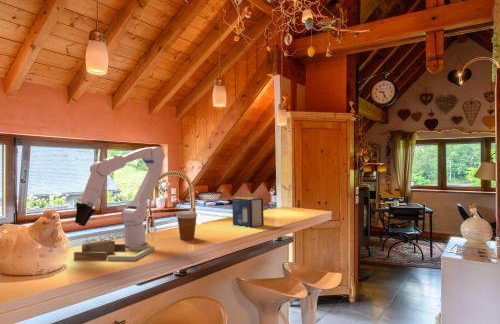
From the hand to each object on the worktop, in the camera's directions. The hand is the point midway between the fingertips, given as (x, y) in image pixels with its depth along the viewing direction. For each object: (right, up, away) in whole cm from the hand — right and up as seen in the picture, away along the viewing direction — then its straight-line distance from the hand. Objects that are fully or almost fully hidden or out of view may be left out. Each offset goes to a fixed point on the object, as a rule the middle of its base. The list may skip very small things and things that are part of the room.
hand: (79, 224), depth 135 cm
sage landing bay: (+19, -11, 0) cm, 22 cm away
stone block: (+6, -12, +2) cm, 14 cm away
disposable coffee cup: (+35, -12, +30) cm, 48 cm away
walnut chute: (+7, -12, +1) cm, 14 cm away
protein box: (+63, -12, +67) cm, 93 cm away
